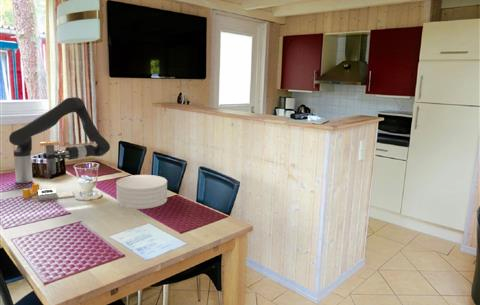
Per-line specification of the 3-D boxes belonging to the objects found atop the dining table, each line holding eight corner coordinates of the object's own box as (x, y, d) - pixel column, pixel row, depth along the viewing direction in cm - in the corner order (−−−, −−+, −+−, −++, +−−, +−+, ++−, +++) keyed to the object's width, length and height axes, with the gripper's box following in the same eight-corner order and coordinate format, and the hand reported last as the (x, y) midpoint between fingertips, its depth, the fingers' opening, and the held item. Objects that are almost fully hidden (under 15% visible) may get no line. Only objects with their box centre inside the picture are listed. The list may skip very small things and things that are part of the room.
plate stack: (172, 194, 222) (172, 176, 220) (158, 210, 195) (158, 190, 192) (128, 191, 224) (128, 173, 222) (107, 206, 197) (107, 186, 195)
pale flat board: (31, 198, 203) (31, 196, 203) (72, 194, 214) (72, 191, 214) (32, 205, 194) (32, 202, 194) (75, 199, 205) (75, 197, 205)
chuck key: (42, 173, 200) (39, 142, 197) (60, 171, 205) (58, 141, 201) (42, 175, 197) (40, 143, 193) (61, 173, 201) (59, 142, 198)
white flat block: (38, 196, 204) (37, 190, 203) (55, 194, 208) (54, 188, 207) (39, 200, 196) (38, 194, 196) (56, 198, 201) (56, 192, 200)
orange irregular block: (31, 194, 211) (31, 183, 210) (39, 194, 212) (38, 183, 210) (20, 200, 200) (19, 189, 198) (28, 201, 200) (27, 190, 199)
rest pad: (56, 194, 208) (56, 193, 208) (71, 192, 212) (71, 191, 212) (58, 198, 201) (58, 197, 201) (73, 196, 206) (73, 195, 206)
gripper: (69, 144, 213) (38, 147, 200) (82, 147, 205) (50, 151, 191) (70, 156, 215) (39, 161, 202) (82, 160, 206) (51, 165, 193)
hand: (45, 156), depth 197 cm, fingers closed on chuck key, 4 cm apart
